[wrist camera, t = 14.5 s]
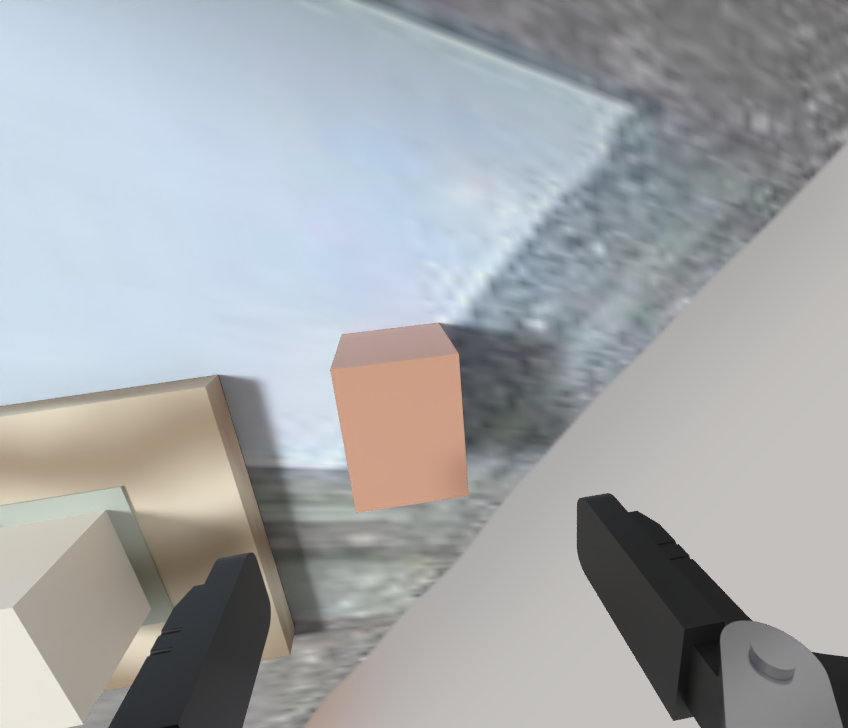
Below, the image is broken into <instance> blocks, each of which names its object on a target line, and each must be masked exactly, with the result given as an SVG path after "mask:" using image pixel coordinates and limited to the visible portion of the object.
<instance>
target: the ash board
mask: <svg viewBox="0 0 848 728" xmlns="http://www.w3.org/2000/svg"><path fill="white" fill-rule="evenodd" d="M101 510H106V511H107V514H108V516H109V518H110V520H111V522H112V524H113V527H114V529H115V531H116V533H117V535H118V537H119V540H120V542H121V544H122V546H123V548H124V551H125V553H126V555H127V557H128V559H129V561H130V564H131V566H132V568H133V570H134V572H135V574H136V577H137V579H138V581H139V583H140V585H141V587H142V590H143V592H144V594H145V596H146V598H147V601H148V603H149V605H150V607H151V610H150V612H149V614H148V615H147V617H146V619H145V620H144V622H143V624H142V625H141V627H140V629H139V631H138V632H137V634H136V636H135V637H134V639H133V641H132V642H131V644H130V646H129V648H128V649H127V651H126V653H125V654H124V656H123V658H122V659H121V661H120V663H119V665H118V666H117V668H116V670H115V671H114V673H113V675H112V676H111V678H110V680H109V682H108V683H107V685H106V687H105V688H104V690H103V691H107V690H112V689H117V688H122V687H127V686H131V685H132V684H133V682H134V680H135V678H136V676H137V674H138V673H139V671H140V669H141V667H142V665H143V663H144V661H145V660H146V658H147V656H150V650H151V649H152V647H153V645H154V643H155V641H156V639H157V638H158V636H160V635H161V630H162V628H163V627H164V625H165V623H166V621H167V619H168V617H169V616H170V614H171V612H172V610H173V608H174V607H175V606H176V605H177V604H178V603H179V602H180V600H181V599H182V598H183V597H184V596H185V595H186V594H187V593H188V592H189V591H190V590H191V589H192V588H193V587H194V586H197V585H203V584H204V583H205V581H206V579H207V577H208V575H209V573H210V571H211V569H212V567H213V565H214V563H215V562H216V560H217V559H218V558H221V557H227V556H233V555H239V554H244V553H250V552H252V553H254V554H255V556H256V558H257V561H258V564H259V567H260V571H261V574H262V577H263V580H264V583H265V587H266V590H267V593H268V596H269V600H270V606H271V621H270V628H269V632H268V636H267V640H266V643H265V647H264V650H263V654H262V658H261V661H262V660H267V659H272V658H277V657H282V656H288V655H290V653H291V648H292V643H293V638H294V633H295V627H294V624H293V621H292V618H291V614H290V611H289V608H288V604H287V601H286V598H285V594H284V591H283V588H282V584H281V581H280V578H279V575H278V571H277V568H276V565H275V561H274V558H273V555H272V551H271V548H270V545H269V542H268V538H267V535H266V532H265V528H264V525H263V522H262V518H261V515H260V512H259V508H258V505H257V502H256V499H255V495H254V492H253V489H252V485H251V482H250V479H249V475H248V472H247V469H246V466H245V462H244V459H243V456H242V452H241V449H240V446H239V442H238V439H237V436H236V432H235V429H234V426H233V423H232V419H231V416H230V413H229V409H228V406H227V403H226V399H225V396H224V393H223V390H222V386H221V383H220V380H219V376H218V375H213V376H207V377H200V378H193V379H186V380H179V381H172V382H165V383H158V384H151V385H144V386H138V387H131V388H124V389H117V390H110V391H103V392H96V393H89V394H82V395H75V396H69V397H62V398H55V399H48V400H41V401H34V402H27V403H20V404H13V405H6V406H0V528H1V527H7V526H13V525H19V524H24V523H30V522H36V521H42V520H48V519H54V518H60V517H66V516H72V515H78V514H84V513H90V512H95V511H101Z"/></svg>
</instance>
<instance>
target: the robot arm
mask: <svg viewBox="0 0 848 728" xmlns="http://www.w3.org/2000/svg"><path fill="white" fill-rule="evenodd" d="M577 552H578V557H579V560H580V563H581V566H582V569H583V571H584V573H585V575H586V576H587V578H588V580H589V581H590V583H591V585H592V586H593V588H594V590H595V591H596V593H597V595H598V596H599V598H600V600H601V601H602V603H603V605H604V606H605V608H606V610H607V611H608V613H609V615H610V616H611V618H612V620H613V621H614V623H615V625H616V626H617V628H618V630H619V631H620V633H621V635H622V636H623V638H624V640H625V641H626V643H627V645H628V646H629V648H630V649H631V651H632V653H633V654H634V656H635V658H636V660H637V661H638V663H639V665H640V666H641V668H642V669H643V671H644V673H645V674H646V676H647V678H648V679H649V681H650V683H651V684H652V686H653V688H654V689H655V691H656V693H657V694H658V696H659V698H660V699H661V701H662V703H663V704H664V706H665V708H666V709H667V711H668V713H669V714H670V716H671V718H672V719H673V721H675V720H680V719H684V718H689V717H694V718H695V719H696V721H697V722H698V724H699V726H700V727H701V728H848V657H843V656H834V655H827V654H820V653H815V652H811V651H810V650H809V649H808V648H806V647H805V646H804V645H803V644H802V643H800V642H799V641H797V640H796V639H795V638H793V637H792V636H790V635H788V634H787V633H785V632H783V631H781V630H779V629H777V628H774V627H772V626H769V625H767V624H763V623H760V622H754V621H752V620H751V619H750V618H749V617H748V616H747V615H746V614H745V613H744V612H743V611H742V610H741V609H740V608H739V607H738V606H737V605H736V604H735V603H734V602H733V601H732V600H731V599H730V597H728V595H727V594H725V592H724V591H723V590H722V589H721V588H720V587H719V586H718V585H717V584H716V583H715V582H714V581H713V580H712V579H711V578H710V577H709V576H708V574H707V573H706V572H705V571H704V570H703V569H701V567H700V566H699V565H698V564H697V563H696V562H695V561H694V560H693V559H690V557H689V555H688V554H687V553H686V552H685V550H684V549H683V548H682V547H681V546H680V545H679V544H678V545H677V544H676V542H675V540H674V539H673V538H672V537H671V536H670V535H669V534H668V533H667V532H666V531H665V530H664V529H663V528H662V527H661V525H660V524H658V523H657V522H655V521H653V520H652V519H650V518H648V517H647V516H645V515H643V514H641V513H640V512H638V511H634V512H627V510H625V508H624V507H623V506H622V505H621V504H620V502H619V501H618V500H617V499H616V498H615V497H614V496H613V495H612V494H609V493H607V494H601V495H595V496H589V497H584V498H579V500H578V503H577ZM270 621H271V606H270V600H269V596H268V593H267V590H266V587H265V583H264V580H263V577H262V574H261V571H260V567H259V564H258V561H257V558H256V556H255V554H254V553H252V552H250V553H244V554H239V555H233V556H227V557H221V558H218V559H217V560H216V562H215V563H214V565H213V567H212V569H211V571H210V573H209V575H208V577H207V579H206V581H205V583H204V584H203V585H197V586H194V587H193V588H192V589H191V590H190V591H189V592H188V593H187V594H186V595H185V596H184V597H183V598H182V599H181V600H180V602H179V603H178V604H177V605H176V606H175V607H174V608H173V610H172V612H171V614H170V616H169V617H168V619H167V621H166V623H165V625H164V627H163V628H162V630H161V635H160V636H158V638H157V639H156V641H155V643H154V645H153V647H152V649H151V650H150V656H147V658H146V660H145V661H144V663H143V665H142V667H141V669H140V671H139V673H138V674H137V676H136V678H135V680H134V682H133V684H132V685H131V687H130V689H129V691H128V693H127V695H126V696H125V698H124V700H123V702H122V704H121V706H120V707H119V709H118V711H117V713H116V715H115V717H114V718H113V720H112V722H111V724H110V726H109V728H242V727H243V723H244V719H245V716H246V712H247V709H248V705H249V701H250V698H251V694H252V690H253V687H254V683H255V679H256V676H257V672H258V669H259V665H260V661H261V658H262V654H263V650H264V647H265V643H266V640H267V636H268V632H269V628H270Z"/></svg>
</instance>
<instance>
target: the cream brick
mask: <svg viewBox="0 0 848 728" xmlns="http://www.w3.org/2000/svg"><path fill="white" fill-rule="evenodd" d="M150 610H151V607H150V605H149V603H148V601H147V598H146V596H145V594H144V592H143V590H142V587H141V585H140V583H139V581H138V579H137V577H136V574H135V572H134V570H133V568H132V566H131V564H130V561H129V559H128V557H127V555H126V553H125V551H124V548H123V546H122V544H121V542H120V540H119V537H118V535H117V533H116V531H115V529H114V527H113V524H112V522H111V520H110V518H109V516H108V514H107V511H106V510H101V511H95V512H90V513H84V514H78V515H72V516H66V517H60V518H54V519H48V520H42V521H36V522H30V523H24V524H19V525H13V526H7V527H1V528H0V728H67V727H72V726H77V725H82V724H84V722H85V721H86V719H87V717H88V716H89V714H90V712H91V710H92V709H93V707H94V705H95V704H96V702H97V700H98V699H99V697H100V695H101V693H102V692H103V690H104V688H105V687H106V685H107V683H108V682H109V680H110V678H111V676H112V675H113V673H114V671H115V670H116V668H117V666H118V665H119V663H120V661H121V659H122V658H123V656H124V654H125V653H126V651H127V649H128V648H129V646H130V644H131V642H132V641H133V639H134V637H135V636H136V634H137V632H138V631H139V629H140V627H141V625H142V624H143V622H144V620H145V619H146V617H147V615H148V614H149V612H150Z"/></svg>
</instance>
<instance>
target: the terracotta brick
mask: <svg viewBox="0 0 848 728" xmlns="http://www.w3.org/2000/svg"><path fill="white" fill-rule="evenodd" d="M330 371H331V377H332V382H333V388H334V393H335V399H336V404H337V410H338V415H339V421H340V426H341V432H342V437H343V443H344V448H345V454H346V459H347V465H348V470H349V476H350V481H351V487H352V492H353V498H354V503H355V509H356V513H359V512H365V511H372V510H378V509H385V508H392V507H398V506H405V505H411V504H418V503H425V502H431V501H438V500H444V499H451V498H458V497H464V496H469V491H468V477H467V463H466V449H465V435H464V421H463V407H462V392H461V378H460V364H459V353H458V352H457V350H456V349H455V347H454V346H453V344H452V342H451V341H450V339H449V338H448V336H447V335H446V333H445V332H444V330H443V329H442V327H441V326H440V324H439V323H433V324H424V325H416V326H408V327H399V328H391V329H383V330H374V331H366V332H358V333H349V334H342V335H341V338H340V341H339V344H338V348H337V351H336V354H335V357H334V360H333V363H332V366H331V369H330Z"/></svg>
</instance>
